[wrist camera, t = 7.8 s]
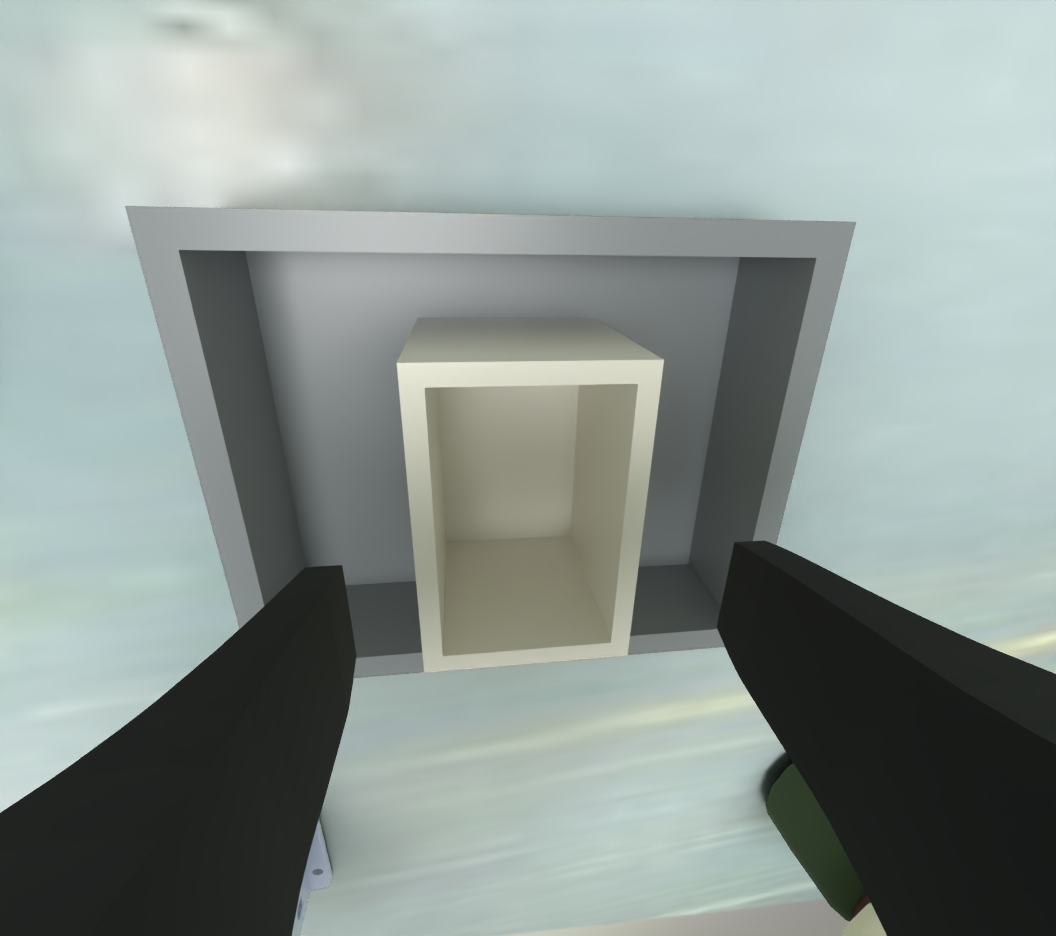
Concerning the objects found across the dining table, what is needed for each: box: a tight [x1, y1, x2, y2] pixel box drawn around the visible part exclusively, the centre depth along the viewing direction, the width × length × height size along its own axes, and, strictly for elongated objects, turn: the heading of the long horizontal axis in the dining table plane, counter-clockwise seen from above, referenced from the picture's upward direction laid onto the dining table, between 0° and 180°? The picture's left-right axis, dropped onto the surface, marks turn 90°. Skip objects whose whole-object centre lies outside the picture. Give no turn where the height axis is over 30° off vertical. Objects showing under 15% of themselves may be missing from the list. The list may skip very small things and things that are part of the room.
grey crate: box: [125, 206, 856, 678], centre depth 16 cm, size 13×16×4 cm
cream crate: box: [397, 318, 664, 673], centre depth 15 cm, size 8×5×6 cm
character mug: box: [766, 763, 887, 936], centre depth 23 cm, size 11×7×13 cm, turn 100°
